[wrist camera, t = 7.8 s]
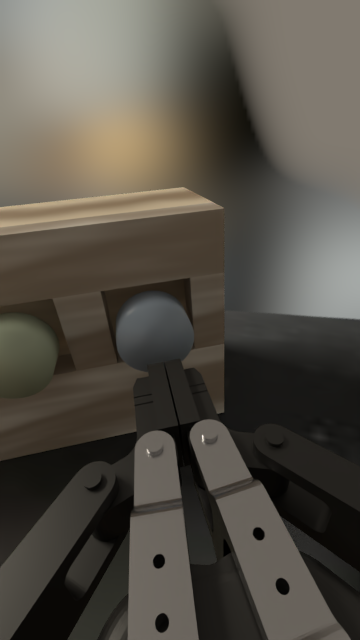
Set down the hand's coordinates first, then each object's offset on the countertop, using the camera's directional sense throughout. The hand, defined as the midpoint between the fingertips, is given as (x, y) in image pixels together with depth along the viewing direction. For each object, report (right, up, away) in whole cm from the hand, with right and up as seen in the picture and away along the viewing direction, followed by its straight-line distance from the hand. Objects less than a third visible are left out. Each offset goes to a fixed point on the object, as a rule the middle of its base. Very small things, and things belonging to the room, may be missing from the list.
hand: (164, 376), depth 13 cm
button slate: (-1, 0, +5) cm, 5 cm away
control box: (-9, -4, +12) cm, 15 cm away
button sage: (-8, -1, +4) cm, 9 cm away
